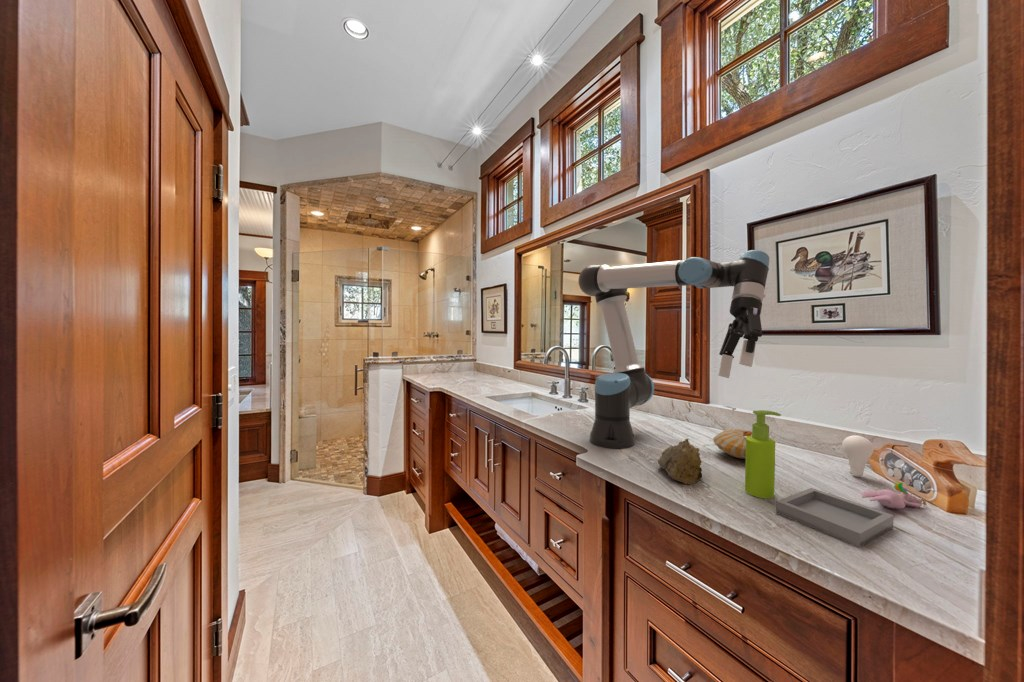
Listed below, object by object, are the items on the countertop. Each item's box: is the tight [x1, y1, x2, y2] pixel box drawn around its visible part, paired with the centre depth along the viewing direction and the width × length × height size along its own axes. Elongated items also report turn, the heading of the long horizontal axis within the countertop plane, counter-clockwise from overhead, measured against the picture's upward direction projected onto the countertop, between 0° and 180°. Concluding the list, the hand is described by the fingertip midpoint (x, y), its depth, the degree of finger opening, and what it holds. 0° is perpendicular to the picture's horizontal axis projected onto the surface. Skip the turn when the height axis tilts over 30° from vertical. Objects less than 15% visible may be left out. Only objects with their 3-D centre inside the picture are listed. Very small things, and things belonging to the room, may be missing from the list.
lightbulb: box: [841, 434, 875, 478], centre depth 98 cm, size 6×6×11 cm
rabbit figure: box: [861, 481, 928, 510], centre depth 82 cm, size 6×6×15 cm
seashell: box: [656, 438, 703, 485], centre depth 101 cm, size 11×15×10 cm
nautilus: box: [712, 428, 771, 461], centre depth 114 cm, size 8×22×15 cm
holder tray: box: [776, 487, 894, 548], centre depth 77 cm, size 14×14×3 cm
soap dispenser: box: [744, 410, 782, 499], centre depth 89 cm, size 6×7×20 cm
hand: (733, 371), depth 99 cm, fingers open, 13 cm apart
